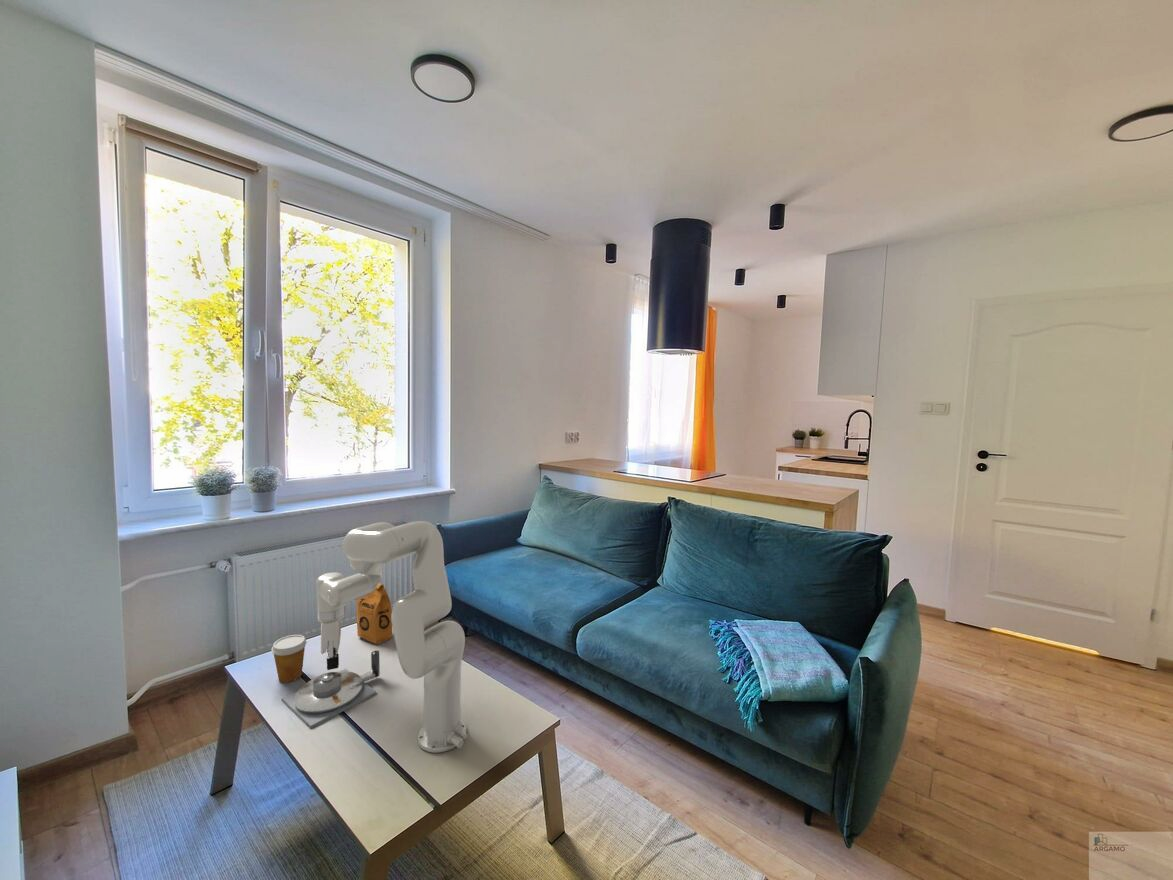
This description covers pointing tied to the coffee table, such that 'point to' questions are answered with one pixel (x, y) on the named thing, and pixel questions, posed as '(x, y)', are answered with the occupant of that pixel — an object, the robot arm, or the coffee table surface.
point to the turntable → (343, 697)
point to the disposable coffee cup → (289, 657)
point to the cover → (327, 685)
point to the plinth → (318, 718)
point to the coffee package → (374, 616)
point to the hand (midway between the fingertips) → (333, 667)
